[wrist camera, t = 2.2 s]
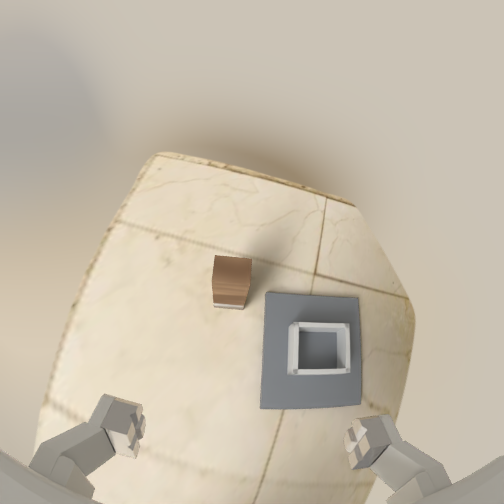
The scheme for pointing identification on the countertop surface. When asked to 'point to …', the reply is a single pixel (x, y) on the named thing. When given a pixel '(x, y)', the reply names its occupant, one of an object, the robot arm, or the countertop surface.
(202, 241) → the countertop surface
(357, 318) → the grey socket base
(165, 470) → the countertop surface
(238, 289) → the block
